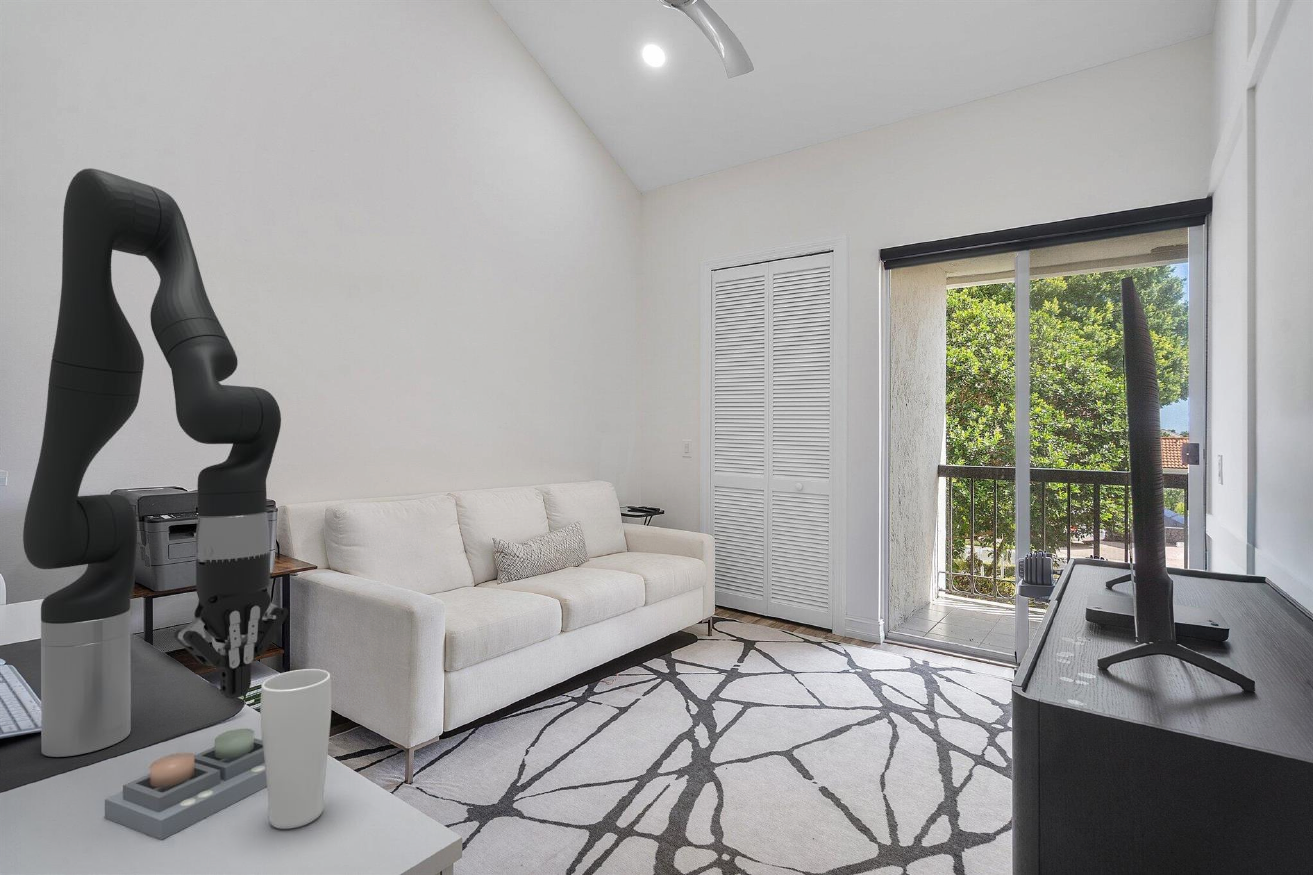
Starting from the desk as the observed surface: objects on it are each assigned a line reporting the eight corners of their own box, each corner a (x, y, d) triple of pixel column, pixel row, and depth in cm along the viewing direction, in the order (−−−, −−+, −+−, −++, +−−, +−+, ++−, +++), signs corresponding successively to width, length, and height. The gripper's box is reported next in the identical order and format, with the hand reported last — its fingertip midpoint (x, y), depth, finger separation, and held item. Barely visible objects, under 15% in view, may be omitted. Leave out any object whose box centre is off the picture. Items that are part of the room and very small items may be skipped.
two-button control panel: (104, 817, 73) (104, 785, 73) (239, 757, 87) (239, 730, 87) (161, 839, 69) (161, 805, 69) (293, 772, 83) (293, 744, 83)
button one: (206, 754, 80) (206, 739, 80) (239, 740, 84) (239, 726, 84) (228, 761, 78) (228, 745, 78) (261, 746, 82) (261, 731, 82)
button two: (141, 782, 74) (141, 765, 74) (180, 765, 77) (180, 750, 77) (164, 790, 72) (164, 773, 72) (202, 773, 76) (202, 756, 76)
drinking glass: (302, 839, 69) (301, 693, 69) (245, 831, 70) (244, 688, 70) (345, 804, 76) (344, 670, 76) (292, 797, 77) (292, 666, 77)
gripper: (264, 542, 89) (266, 674, 88) (154, 559, 76) (156, 712, 76) (304, 544, 85) (306, 682, 85) (196, 562, 73) (198, 722, 73)
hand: (235, 696), depth 81 cm, fingers closed
